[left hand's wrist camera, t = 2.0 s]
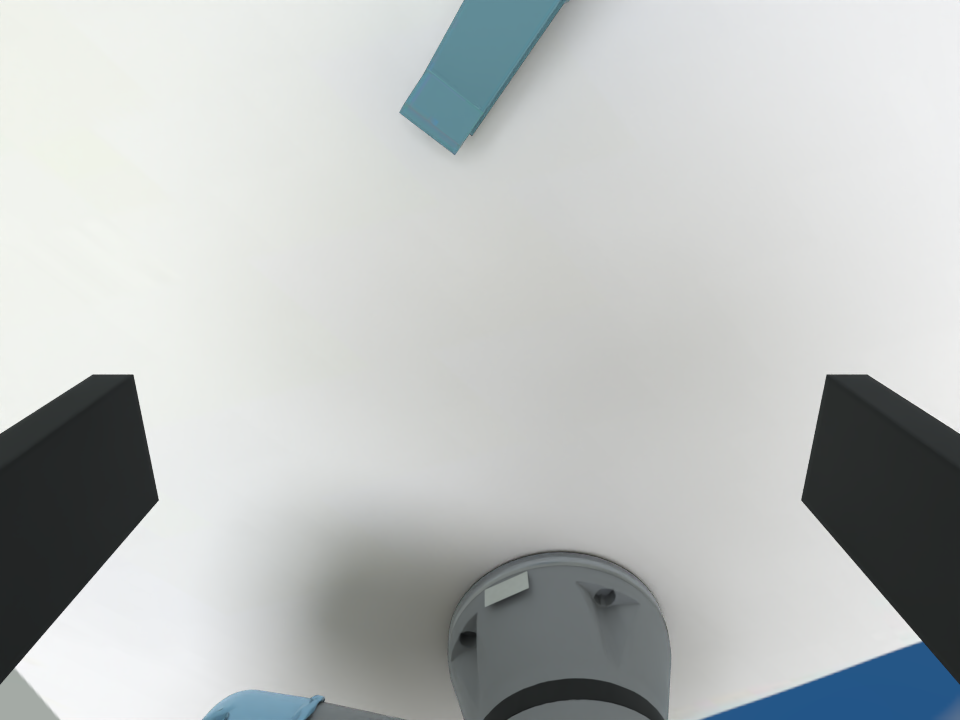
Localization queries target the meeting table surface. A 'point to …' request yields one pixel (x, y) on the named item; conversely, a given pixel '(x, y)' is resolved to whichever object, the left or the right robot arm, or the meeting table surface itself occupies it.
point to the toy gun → (475, 65)
